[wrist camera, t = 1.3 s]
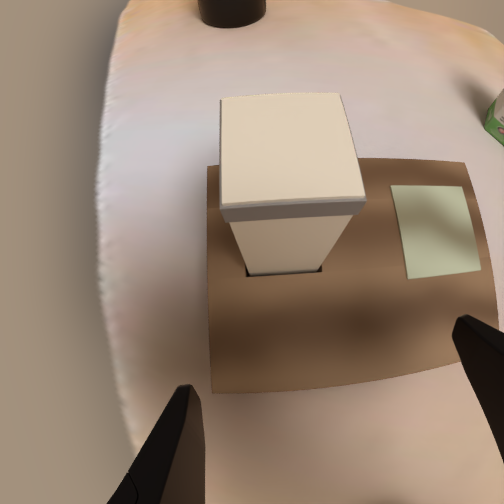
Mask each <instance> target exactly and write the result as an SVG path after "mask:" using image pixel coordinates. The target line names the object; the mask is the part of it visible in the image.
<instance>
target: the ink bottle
mask: <svg viewBox="0 0 504 504" xmlns="http://www.w3.org/2000/svg"><path fill="white" fill-rule="evenodd" d="M198 5H199V9H200V13H201V17H202V20H203V21H204V22H205V23H207V24H209V25H213V26H217V27H239V26H244V25H247V24H250V23H253V22H255V21H257V20H259V19H260V18H261V17H262V16H263V15H264V14H265V12H266V0H198Z"/></svg>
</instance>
